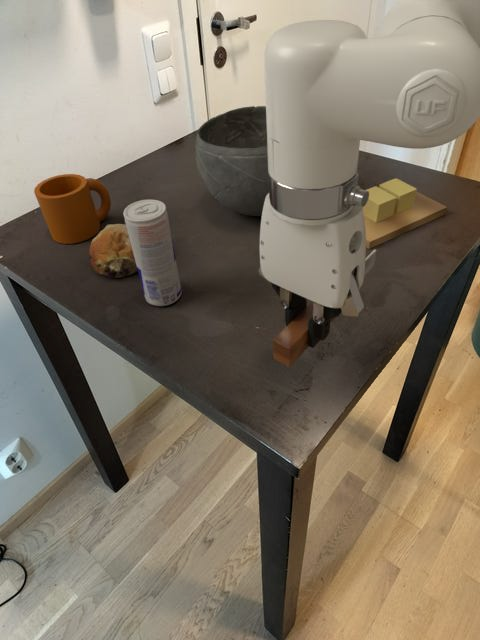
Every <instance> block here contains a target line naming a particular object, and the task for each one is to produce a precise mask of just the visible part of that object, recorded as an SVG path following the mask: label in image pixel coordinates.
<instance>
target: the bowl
mask: <svg viewBox="0 0 480 640" xmlns="http://www.w3.org/2000/svg"><path fill="white" fill-rule="evenodd" d="M194 159H195V165H196V168H197V171H198V175H199V178H200V180H201V182H202V184H203V186H204V187H205V189H206V190H207V191H208V193H209V194H210V195H211V196H212V197H213V198H214V199H215V200H216V201H217V202H219V203H220V204H221V205H222V206H224V207H225V208H227V209H228V210H230V211H232V212H233V213H236V214H239V215H243V216H248V217H249V216H250V217H262V212H263V206H264V202H265V198H266V196H267V194H268V193H269V178H268V148H267V121H266V105H257V106H255V105H252V106H251V105H250V106H243V107H237V108H235V109H231V110H228V111H225V112H224V113H220V114H218V115H216V116H213V117H211V118H210V119H208V120H207V121H205V122H203V124H202V125H201V126H199V128H198V129H197V134H196V138H195V142H194Z"/></svg>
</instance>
